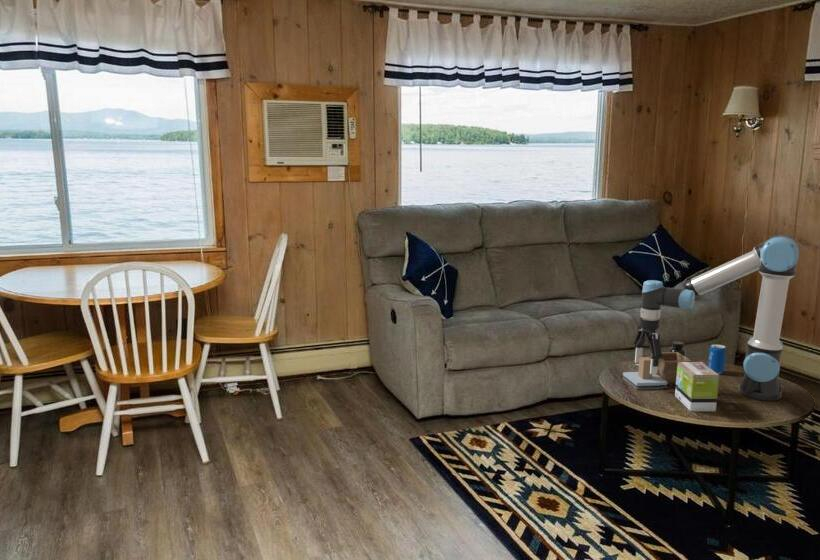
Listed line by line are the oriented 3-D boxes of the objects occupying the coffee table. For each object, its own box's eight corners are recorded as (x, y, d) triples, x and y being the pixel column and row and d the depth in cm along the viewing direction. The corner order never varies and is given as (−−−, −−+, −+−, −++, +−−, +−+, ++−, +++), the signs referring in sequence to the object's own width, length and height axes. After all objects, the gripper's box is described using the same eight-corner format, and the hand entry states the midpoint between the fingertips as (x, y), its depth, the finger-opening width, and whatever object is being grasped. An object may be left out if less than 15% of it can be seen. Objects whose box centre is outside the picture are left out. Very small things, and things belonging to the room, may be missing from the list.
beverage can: (704, 370, 285) (706, 344, 282) (716, 369, 286) (719, 343, 284) (714, 375, 279) (716, 348, 276) (726, 374, 280) (729, 347, 278)
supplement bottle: (681, 366, 290) (683, 340, 287) (686, 371, 283) (688, 345, 281) (665, 365, 290) (668, 340, 288) (670, 370, 284) (672, 344, 281)
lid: (667, 387, 262) (669, 363, 260) (636, 388, 260) (638, 364, 259) (651, 376, 275) (653, 353, 273) (622, 377, 273) (624, 354, 271)
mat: (666, 388, 262) (667, 387, 262) (636, 389, 261) (636, 388, 261) (651, 377, 275) (651, 376, 275) (622, 378, 273) (622, 377, 273)
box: (690, 383, 268) (692, 360, 266) (662, 384, 266) (664, 361, 265) (675, 374, 279) (677, 352, 278) (649, 374, 278) (650, 352, 276)
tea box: (673, 396, 254) (677, 360, 251) (699, 397, 254) (702, 361, 251) (689, 411, 239) (693, 373, 236) (716, 412, 239) (720, 374, 236)
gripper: (627, 311, 274) (623, 358, 278) (655, 326, 250) (651, 378, 254) (644, 310, 275) (640, 358, 279) (674, 326, 250) (669, 378, 255)
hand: (645, 368), depth 266 cm, fingers open, 13 cm apart
